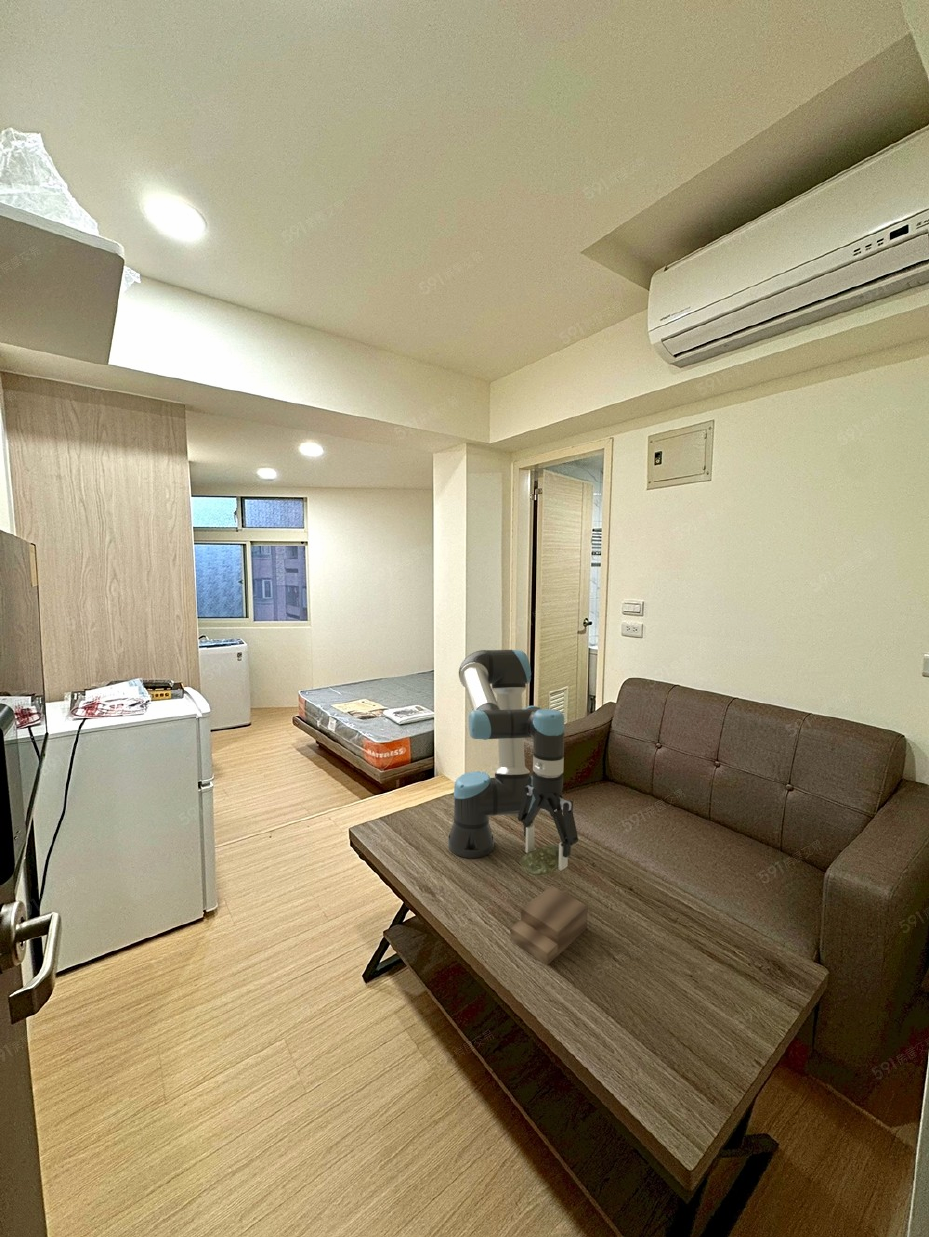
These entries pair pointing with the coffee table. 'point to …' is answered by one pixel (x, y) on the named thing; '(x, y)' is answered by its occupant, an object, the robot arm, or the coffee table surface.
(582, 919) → the block
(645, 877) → the coffee table surface
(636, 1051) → the coffee table surface
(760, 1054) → the coffee table surface
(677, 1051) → the coffee table surface
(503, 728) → the robot arm
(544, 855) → the seashell
